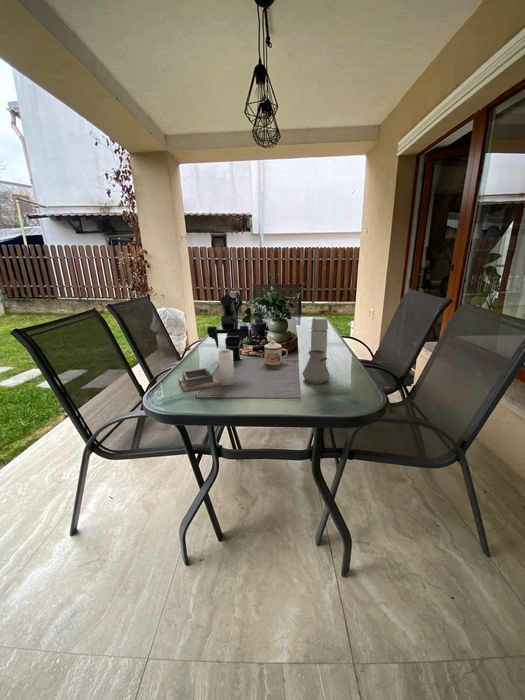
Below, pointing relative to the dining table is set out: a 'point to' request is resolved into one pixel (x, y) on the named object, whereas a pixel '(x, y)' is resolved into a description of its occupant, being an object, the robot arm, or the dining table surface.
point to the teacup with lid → (273, 353)
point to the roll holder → (197, 379)
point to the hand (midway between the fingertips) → (227, 347)
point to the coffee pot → (316, 368)
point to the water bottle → (319, 334)
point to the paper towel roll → (226, 367)
